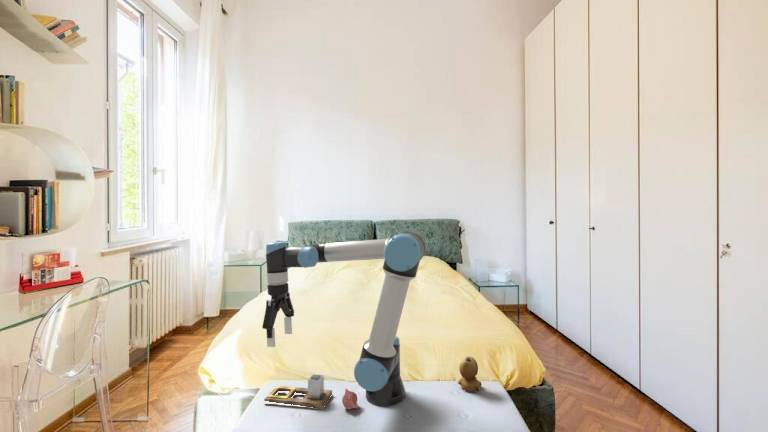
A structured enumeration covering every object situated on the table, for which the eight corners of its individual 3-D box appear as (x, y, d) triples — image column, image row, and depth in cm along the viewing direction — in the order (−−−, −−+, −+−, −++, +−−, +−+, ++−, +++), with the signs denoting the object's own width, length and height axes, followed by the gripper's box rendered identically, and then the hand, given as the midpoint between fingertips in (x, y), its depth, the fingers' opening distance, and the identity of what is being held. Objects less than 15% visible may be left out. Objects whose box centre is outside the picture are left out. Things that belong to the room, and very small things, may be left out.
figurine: (485, 386, 140) (482, 353, 137) (480, 399, 134) (476, 365, 131) (462, 380, 146) (458, 349, 143) (455, 392, 139) (451, 359, 136)
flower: (335, 395, 125) (348, 385, 125) (340, 393, 132) (352, 384, 133) (347, 416, 122) (360, 406, 122) (351, 413, 129) (364, 403, 130)
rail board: (332, 395, 136) (332, 389, 136) (322, 409, 126) (322, 402, 126) (277, 390, 140) (277, 384, 140) (264, 404, 131) (264, 397, 131)
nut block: (324, 398, 134) (323, 374, 134) (319, 405, 129) (319, 379, 129) (313, 397, 135) (312, 373, 135) (308, 403, 130) (307, 378, 130)
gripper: (283, 277, 145) (286, 329, 144) (250, 290, 120) (252, 352, 120) (301, 277, 143) (303, 329, 143) (270, 290, 119) (273, 352, 119)
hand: (280, 339), depth 131 cm, fingers open, 13 cm apart
